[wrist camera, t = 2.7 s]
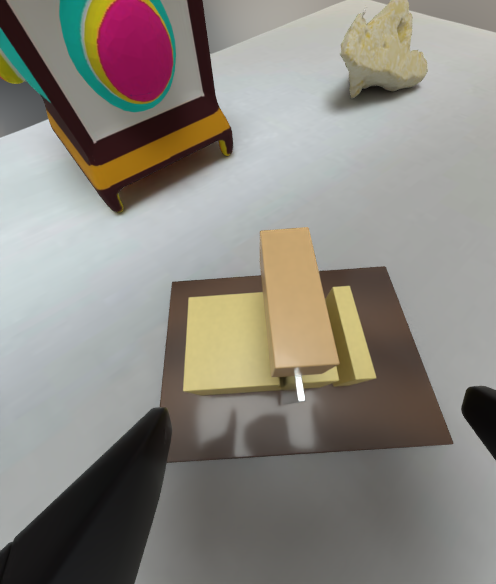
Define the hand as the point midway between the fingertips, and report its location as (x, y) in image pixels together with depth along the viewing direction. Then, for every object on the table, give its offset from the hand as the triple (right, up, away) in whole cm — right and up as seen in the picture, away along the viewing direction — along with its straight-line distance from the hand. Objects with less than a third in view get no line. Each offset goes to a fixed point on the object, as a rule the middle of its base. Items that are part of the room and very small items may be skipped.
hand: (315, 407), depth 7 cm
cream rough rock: (+17, +34, +30) cm, 49 cm away
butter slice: (+5, -1, +12) cm, 13 cm away
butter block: (-1, -1, +12) cm, 12 cm away
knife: (0, 0, +10) cm, 10 cm away
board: (+1, -2, +13) cm, 13 cm away
